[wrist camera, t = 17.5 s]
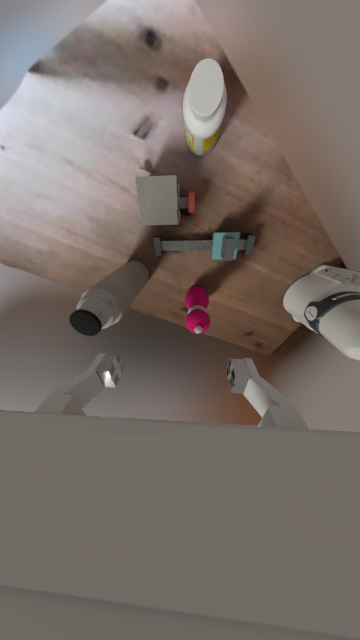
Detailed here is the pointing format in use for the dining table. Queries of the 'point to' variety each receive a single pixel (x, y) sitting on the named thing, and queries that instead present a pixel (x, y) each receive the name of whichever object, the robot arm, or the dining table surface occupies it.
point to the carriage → (225, 245)
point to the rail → (198, 245)
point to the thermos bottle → (109, 298)
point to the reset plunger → (187, 202)
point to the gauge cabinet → (159, 199)
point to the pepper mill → (197, 310)
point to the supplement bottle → (204, 106)
